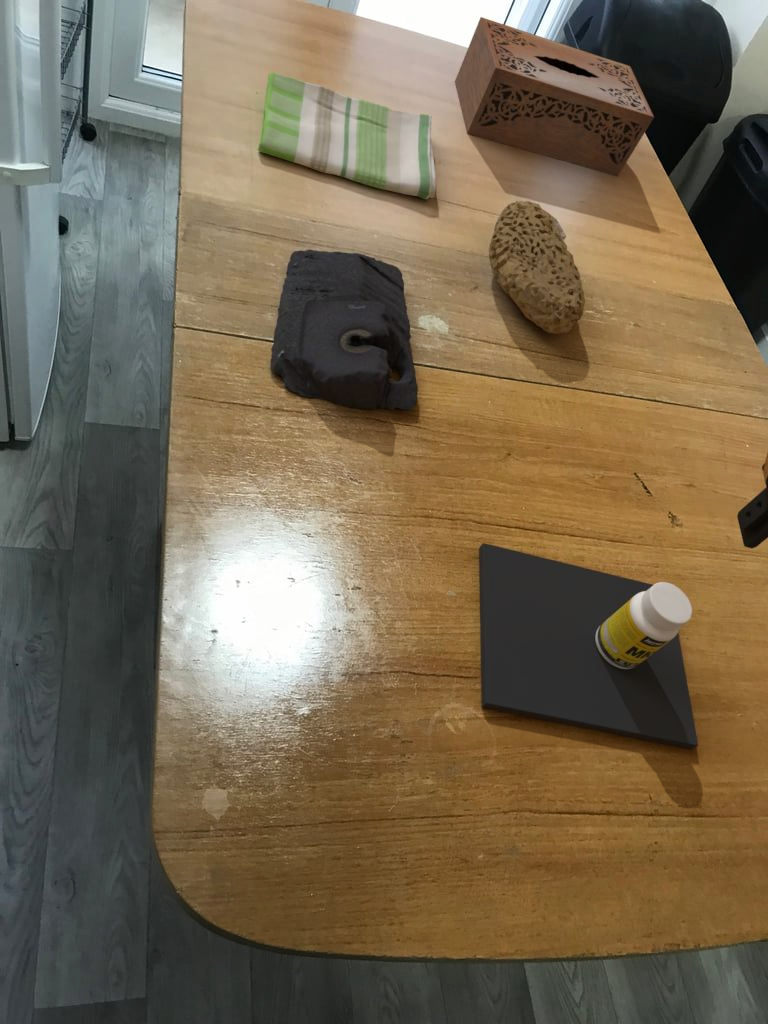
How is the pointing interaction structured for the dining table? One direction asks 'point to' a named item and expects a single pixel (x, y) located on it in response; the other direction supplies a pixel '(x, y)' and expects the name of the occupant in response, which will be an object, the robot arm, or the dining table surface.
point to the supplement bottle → (643, 625)
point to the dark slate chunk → (344, 331)
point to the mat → (572, 652)
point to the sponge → (537, 267)
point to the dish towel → (348, 137)
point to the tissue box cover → (550, 98)
